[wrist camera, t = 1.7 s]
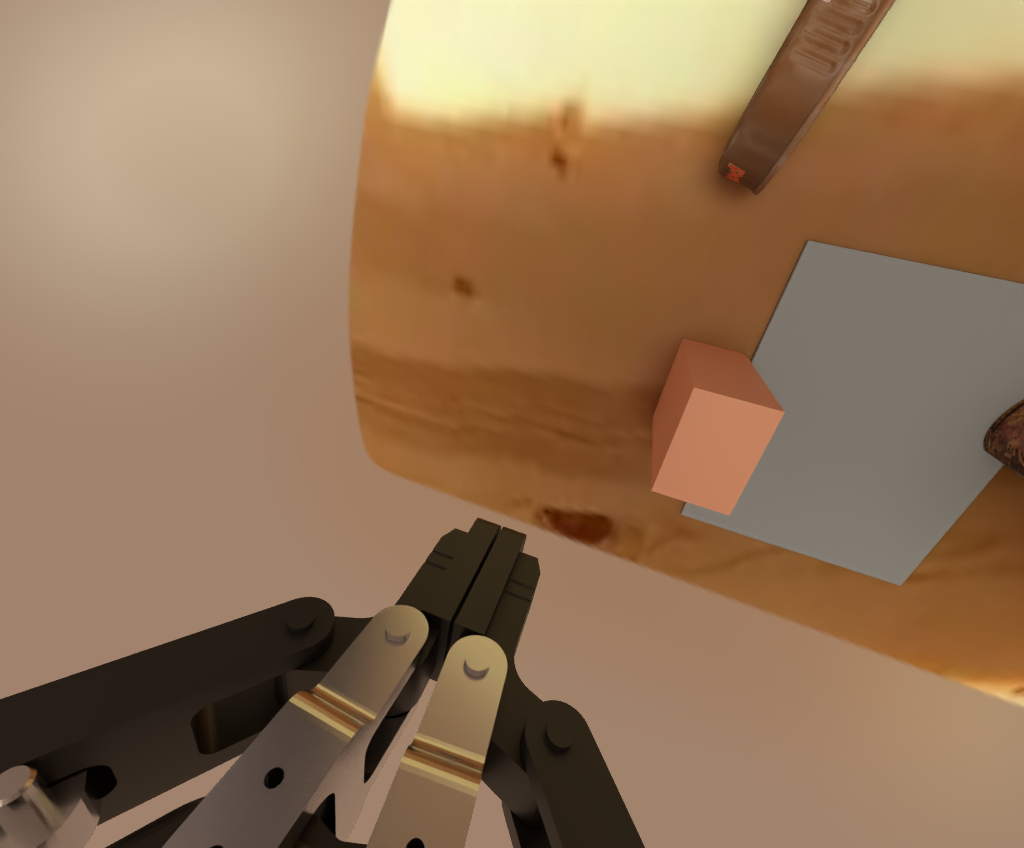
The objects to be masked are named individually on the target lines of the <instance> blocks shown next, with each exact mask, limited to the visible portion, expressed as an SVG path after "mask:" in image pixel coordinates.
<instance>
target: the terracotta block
mask: <svg viewBox="0 0 1024 848" xmlns="http://www.w3.org/2000/svg"><path fill="white" fill-rule="evenodd" d="M784 413H785V411H784V410H783V408H782V407H781V406H780V404H779V403H778V401H777V400H776V398H775V397H774V395H773V394H772V392H771V391H770V389H769V388H768V387H767V385H766V384H765V382H764V381H763V379H762V378H761V376H760V375H759V373H758V372H757V370H756V369H755V368H754V366H753V365H752V363H751V362H750V360H749V359H748V357H747V356H746V354H744V353H740V352H736V351H732V350H728V349H724V348H720V347H716V346H712V345H708V344H704V343H700V342H696V341H693V340H689V339H685V338H682V341H681V344H680V346H679V349H678V351H677V354H676V357H675V359H674V362H673V365H672V367H671V370H670V373H669V375H668V378H667V381H666V383H665V386H664V389H663V391H662V394H661V397H660V399H659V402H658V405H657V407H656V410H655V412H654V415H653V429H652V487H651V491H653V492H657V493H660V494H663V495H666V496H669V497H672V498H675V499H679V500H682V501H685V502H688V503H691V504H694V505H697V506H701V507H704V508H707V509H710V510H713V511H716V512H719V513H723V514H726V515H729V516H730V514H731V512H732V510H733V508H734V507H735V505H736V503H737V501H738V499H739V497H740V495H741V494H742V492H743V490H744V488H745V486H746V484H747V482H748V480H749V479H750V477H751V475H752V473H753V471H754V469H755V467H756V465H757V464H758V462H759V460H760V458H761V456H762V454H763V452H764V450H765V449H766V447H767V445H768V443H769V441H770V439H771V437H772V436H773V434H774V432H775V430H776V428H777V426H778V424H779V422H780V421H781V419H782V417H783V415H784Z"/></svg>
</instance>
